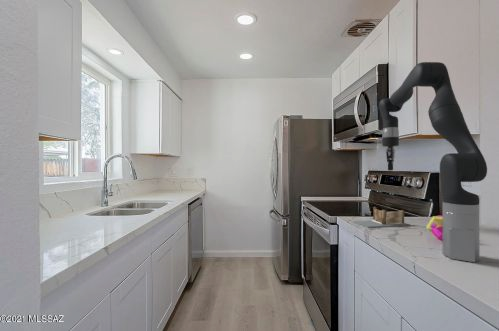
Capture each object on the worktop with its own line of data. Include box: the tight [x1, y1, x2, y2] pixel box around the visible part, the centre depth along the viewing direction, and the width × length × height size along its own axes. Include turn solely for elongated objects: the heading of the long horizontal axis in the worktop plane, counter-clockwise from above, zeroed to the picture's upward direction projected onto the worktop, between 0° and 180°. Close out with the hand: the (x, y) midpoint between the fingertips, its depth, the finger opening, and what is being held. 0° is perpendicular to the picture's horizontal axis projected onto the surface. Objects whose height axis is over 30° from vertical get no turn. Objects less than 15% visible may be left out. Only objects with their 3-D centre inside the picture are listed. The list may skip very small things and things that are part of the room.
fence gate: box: [372, 206, 382, 223], centre depth 134 cm, size 9×2×6 cm, turn 178°
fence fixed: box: [381, 209, 405, 225], centre depth 129 cm, size 12×2×8 cm, turn 101°
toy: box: [425, 214, 443, 242], centre depth 104 cm, size 10×18×10 cm, turn 148°
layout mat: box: [352, 219, 411, 229], centre depth 131 cm, size 23×12×1 cm, turn 101°
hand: (390, 170), depth 135 cm, fingers closed
